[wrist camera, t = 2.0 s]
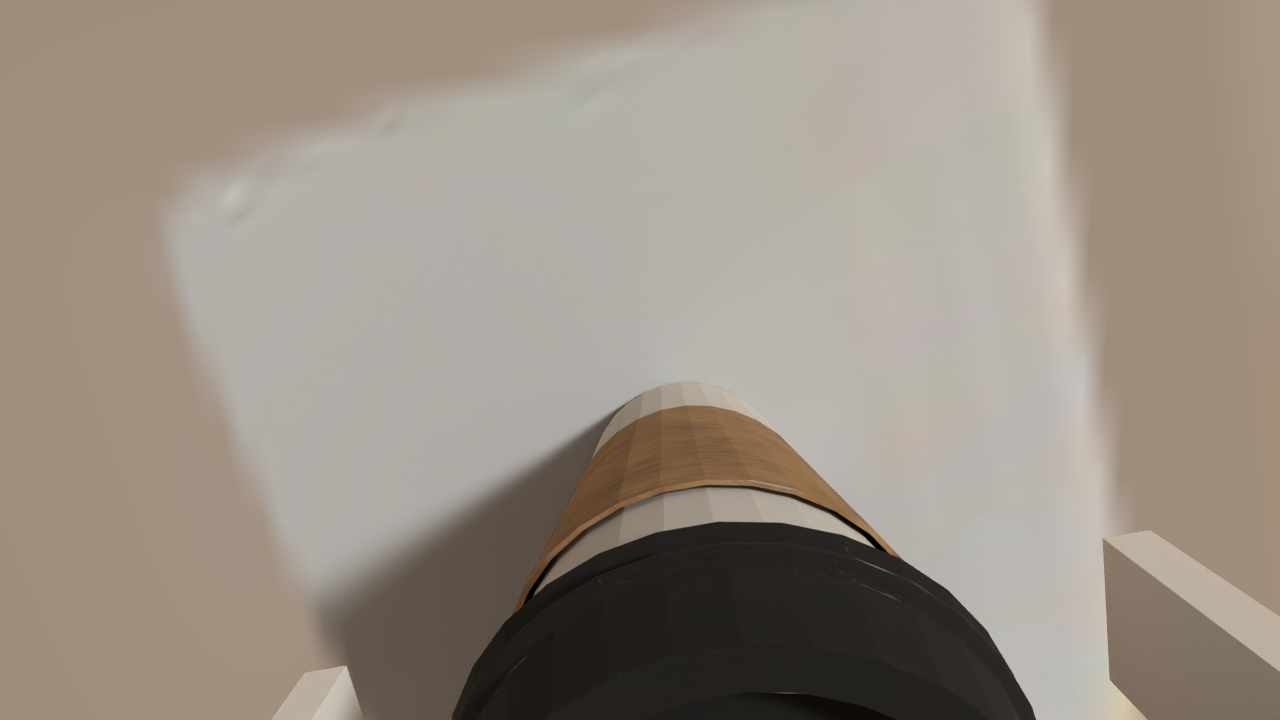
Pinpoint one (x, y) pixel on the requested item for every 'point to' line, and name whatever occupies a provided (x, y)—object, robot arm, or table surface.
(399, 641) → the table surface
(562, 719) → the coffee cup
